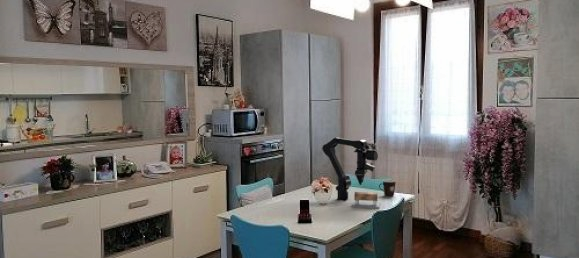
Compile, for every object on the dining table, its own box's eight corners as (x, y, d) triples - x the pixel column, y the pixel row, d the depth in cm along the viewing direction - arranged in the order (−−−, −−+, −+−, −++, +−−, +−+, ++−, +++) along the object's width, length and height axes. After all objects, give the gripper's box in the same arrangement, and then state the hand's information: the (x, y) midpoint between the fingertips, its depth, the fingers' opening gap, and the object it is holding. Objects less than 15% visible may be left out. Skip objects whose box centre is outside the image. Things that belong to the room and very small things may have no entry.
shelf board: (354, 200, 280) (354, 193, 279) (354, 198, 285) (354, 191, 285) (377, 200, 277) (377, 194, 277) (377, 198, 282) (377, 192, 282)
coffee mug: (394, 194, 314) (394, 179, 313) (396, 196, 305) (396, 182, 305) (377, 193, 315) (377, 179, 314) (379, 196, 306) (379, 182, 306)
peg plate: (351, 206, 279) (351, 200, 278) (353, 203, 288) (353, 197, 288) (379, 208, 274) (379, 202, 274) (380, 204, 284) (380, 198, 284)
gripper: (372, 162, 279) (372, 186, 280) (375, 157, 297) (375, 181, 298) (354, 161, 282) (354, 186, 283) (358, 157, 300) (358, 180, 301)
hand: (361, 183), depth 291 cm, fingers open, 9 cm apart
